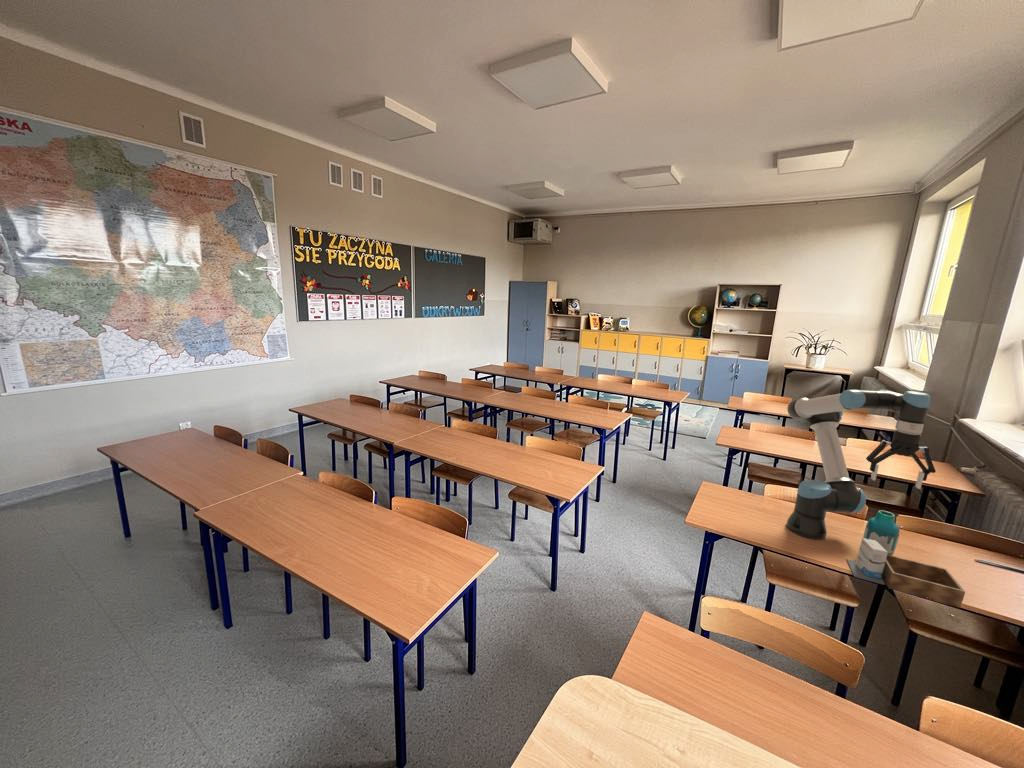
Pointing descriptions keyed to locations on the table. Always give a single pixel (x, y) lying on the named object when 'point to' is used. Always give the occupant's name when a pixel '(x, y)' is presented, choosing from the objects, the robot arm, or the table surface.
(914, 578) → the crate
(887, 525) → the vase
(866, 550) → the ink box
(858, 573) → the zone pad
